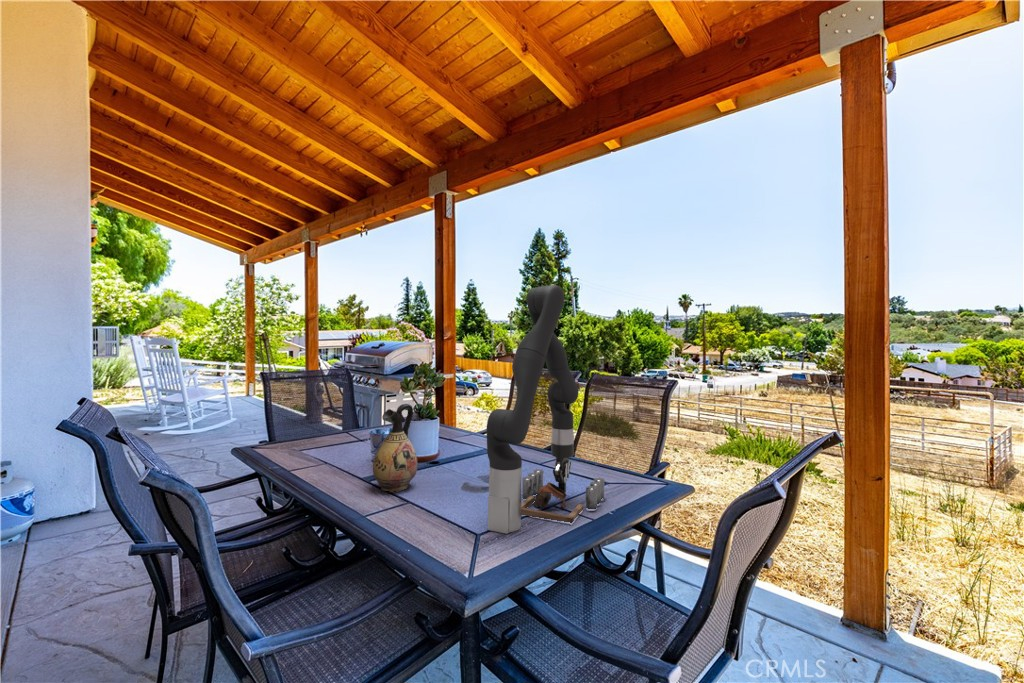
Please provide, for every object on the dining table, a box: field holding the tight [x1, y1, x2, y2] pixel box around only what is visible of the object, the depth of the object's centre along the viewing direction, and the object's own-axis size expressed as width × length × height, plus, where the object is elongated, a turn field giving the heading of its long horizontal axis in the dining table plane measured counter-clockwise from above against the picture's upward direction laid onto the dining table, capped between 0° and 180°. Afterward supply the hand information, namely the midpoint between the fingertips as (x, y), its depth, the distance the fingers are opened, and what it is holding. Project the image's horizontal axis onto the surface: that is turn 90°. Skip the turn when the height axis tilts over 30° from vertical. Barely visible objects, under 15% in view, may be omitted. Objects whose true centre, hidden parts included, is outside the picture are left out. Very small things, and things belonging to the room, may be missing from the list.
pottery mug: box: [533, 482, 567, 509], centre depth 142 cm, size 12×10×8 cm
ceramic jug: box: [372, 403, 418, 493], centre depth 159 cm, size 17×15×30 cm
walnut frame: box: [521, 496, 585, 523], centre depth 138 cm, size 12×18×2 cm
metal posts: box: [521, 468, 605, 509], centre depth 150 cm, size 14×26×7 cm, turn 65°
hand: (562, 493), depth 149 cm, fingers closed
